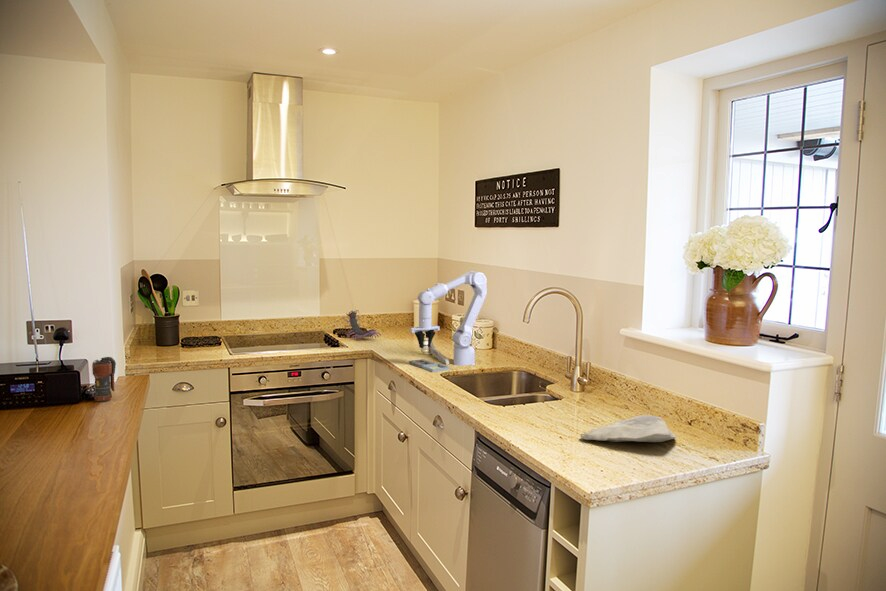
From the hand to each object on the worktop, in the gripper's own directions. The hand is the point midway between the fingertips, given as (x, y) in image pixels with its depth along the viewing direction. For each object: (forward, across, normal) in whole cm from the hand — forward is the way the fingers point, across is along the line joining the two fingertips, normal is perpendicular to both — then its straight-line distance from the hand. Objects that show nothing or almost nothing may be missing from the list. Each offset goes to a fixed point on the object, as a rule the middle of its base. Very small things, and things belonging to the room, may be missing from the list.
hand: (424, 347), depth 274 cm
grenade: (+9, +126, -10) cm, 127 cm away
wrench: (+10, -14, -11) cm, 20 cm away
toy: (+10, -6, -77) cm, 78 cm away
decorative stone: (+10, -5, +110) cm, 111 cm away
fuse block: (+9, 0, -2) cm, 9 cm away
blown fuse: (+2, 0, 0) cm, 2 cm away
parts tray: (+9, -1, +8) cm, 12 cm away
